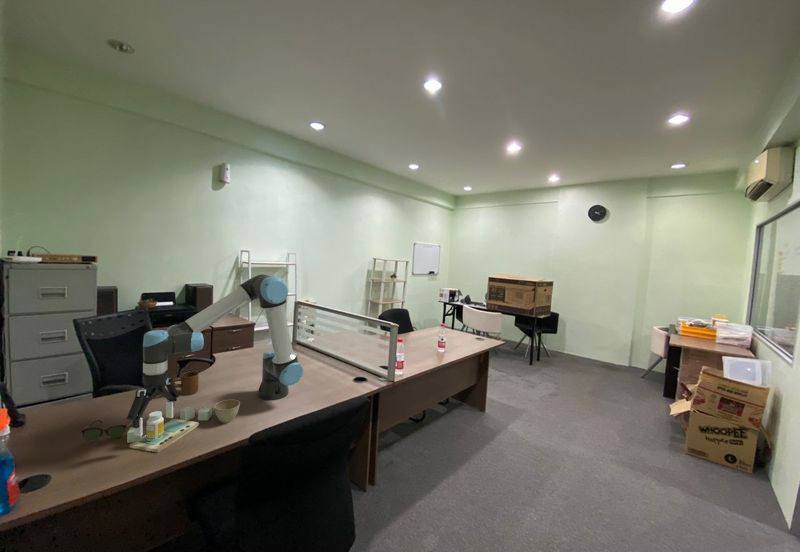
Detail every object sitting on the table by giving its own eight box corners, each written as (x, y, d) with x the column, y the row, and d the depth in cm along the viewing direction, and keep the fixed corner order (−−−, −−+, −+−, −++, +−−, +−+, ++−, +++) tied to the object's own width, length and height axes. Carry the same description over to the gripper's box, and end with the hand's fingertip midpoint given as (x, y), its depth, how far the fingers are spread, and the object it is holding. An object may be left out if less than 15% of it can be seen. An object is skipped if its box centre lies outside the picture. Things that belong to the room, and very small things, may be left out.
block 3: (211, 415, 151) (211, 407, 151) (207, 420, 147) (207, 411, 147) (202, 415, 151) (202, 407, 151) (197, 420, 147) (198, 411, 147)
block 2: (194, 417, 149) (194, 408, 149) (185, 421, 146) (185, 412, 145) (189, 414, 151) (189, 406, 151) (179, 418, 147) (180, 409, 147)
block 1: (142, 435, 133) (142, 425, 133) (140, 441, 130) (140, 431, 129) (130, 437, 131) (130, 427, 131) (127, 443, 128) (127, 432, 127)
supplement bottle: (147, 443, 126) (147, 418, 125) (145, 436, 130) (145, 412, 129) (164, 438, 130) (165, 414, 129) (162, 432, 134) (162, 408, 133)
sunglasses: (79, 442, 126) (80, 429, 126) (98, 426, 140) (98, 414, 140) (127, 437, 132) (127, 424, 132) (140, 421, 146) (140, 410, 146)
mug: (174, 399, 164) (174, 380, 163) (168, 394, 168) (168, 376, 168) (200, 392, 173) (201, 374, 173) (194, 387, 178) (195, 370, 177)
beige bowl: (220, 414, 153) (220, 399, 153) (242, 414, 154) (243, 399, 153) (209, 425, 143) (210, 409, 143) (234, 426, 144) (234, 410, 144)
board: (198, 425, 143) (198, 422, 143) (157, 452, 123) (157, 449, 123) (173, 421, 145) (173, 418, 145) (129, 447, 125) (129, 443, 125)
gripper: (173, 360, 140) (172, 409, 142) (114, 383, 116) (113, 442, 118) (189, 362, 139) (188, 412, 141) (132, 385, 115) (132, 445, 116)
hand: (154, 425), depth 129 cm, fingers open, 13 cm apart
